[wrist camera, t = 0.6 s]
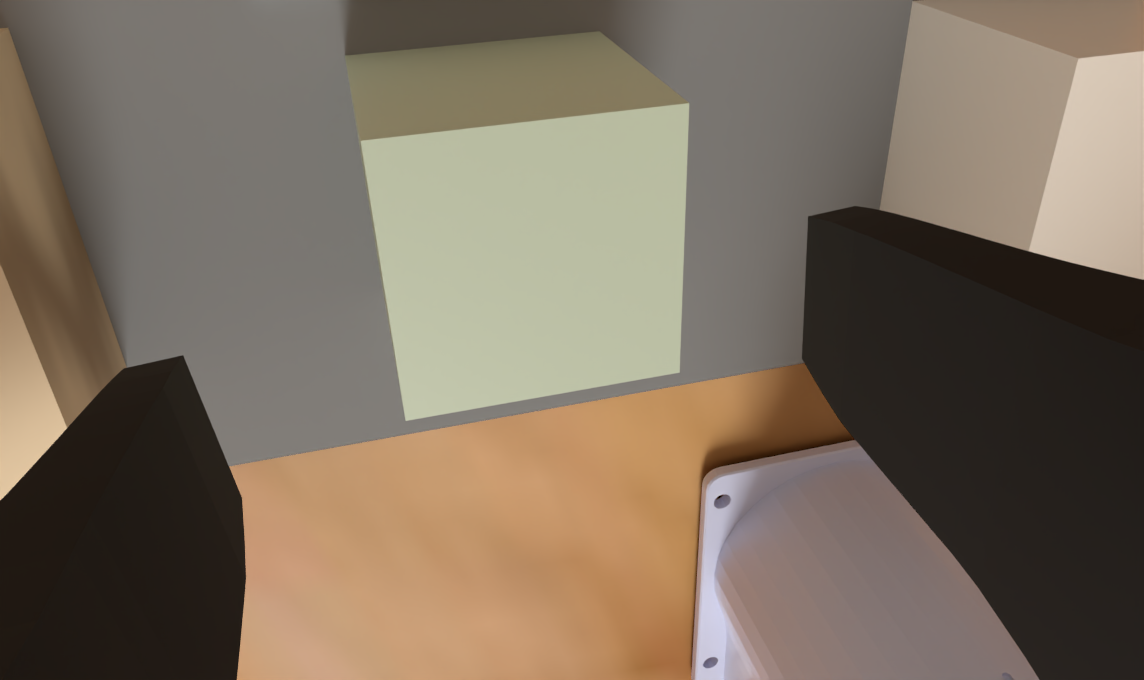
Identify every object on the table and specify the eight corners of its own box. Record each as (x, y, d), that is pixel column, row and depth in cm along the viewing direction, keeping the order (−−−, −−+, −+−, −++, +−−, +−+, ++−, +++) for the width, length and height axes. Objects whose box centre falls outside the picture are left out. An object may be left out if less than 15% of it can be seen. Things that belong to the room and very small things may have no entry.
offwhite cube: (1055, 189, 23) (1220, 276, 19) (878, 215, 22) (1012, 313, 18) (1110, -18, 20) (1316, 31, 16) (912, 0, 20) (1078, 58, 15)
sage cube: (603, 256, 21) (679, 372, 17) (382, 288, 20) (405, 420, 16) (599, 31, 18) (688, 103, 14) (345, 55, 17) (360, 141, 13)
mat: (1031, 305, 26) (1050, 318, 25) (-191, 520, 20) (-208, 545, 19) (1224, -410, 18) (1260, -418, 17) (-788, -419, 12) (-855, -431, 11)
